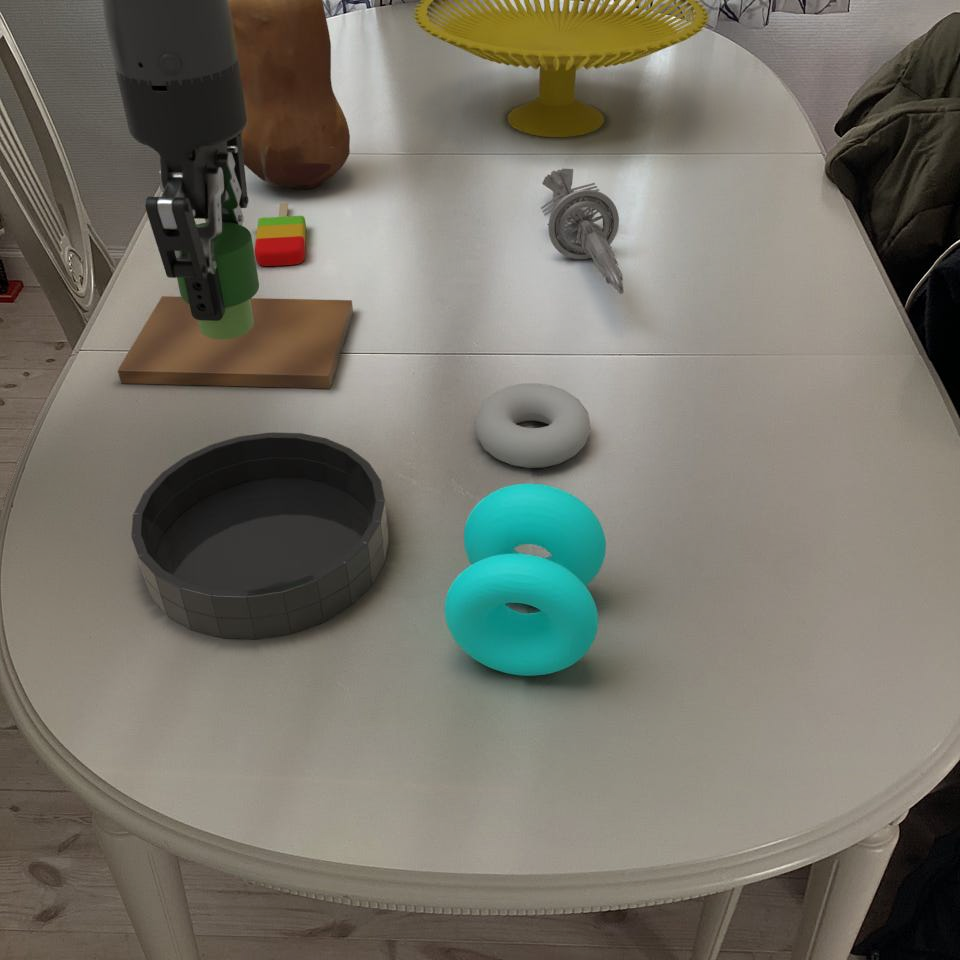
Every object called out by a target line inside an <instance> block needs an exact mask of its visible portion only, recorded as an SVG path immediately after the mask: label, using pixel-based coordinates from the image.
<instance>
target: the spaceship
mask: <svg viewBox="0 0 960 960" xmlns="http://www.w3.org/2000/svg"><path fill="white" fill-rule="evenodd" d="M573 177H574V168H561V169H557V170H552V171H551V172H550V174H549V173H548V174H547V175H546V176H544V179H543V181H542V183H541V184H542V185H543V186H545V188H547V189H548V190H550V191H552V199H551V200H550V201H548V202H547V203H545V204H544V205H542V206H541V207H540V209H541V210H542V213H544V216H545V217H546V216H548V215H549V214H550V216H549V219H548V223H547V226H548V227H547V228H548V229H547V230H548V237H549V239H550V242H551V244H552V246H553V247H554V248H555V249H556V251H558V253H560V254H561V255H563V256H564V257H566V258H569V259H574V260H587V259H590V258H591V259H592V260H593V263H594V265H595V267H596V269H597V270H598V271H599V273H600V274H601V275H602V277H603V278H604V279H605V281H606V283H607V284H608V285H610V286H612V287H613V289H614V290H615V291H616V292H617V293H618V294H619V295H622V294H624V284H623V280H624V279H623V274H622V271H621V269H620V267H619V266H618V265H619V263H618V261H617V259H616V256H615V254H614V251H613V247H612V246H611V244H613V242H614V240H615V238H616V236H617V233H618V231H619V227H620V215H619V211H618V209H617V206H616V205H615V203H614V202H613V200H612V199H611V198H610V197H609V196H608V195H606V194H605V193H603V192H601V191H600V189H599V188H598V186H597V185H596V182H593V183H588V184H585V185H580V186H577V187H573ZM572 187H573V188H572ZM583 208H584V209H583ZM598 213H599V214H600V215H599V216H596V217H595V215H597V214H598ZM600 220H602V227H601V226H600V225H599V224H597V223H596V222H597V221H600ZM566 229H568V230H566ZM574 232H577V234H576V238H575V240H574V241H571V239H570V238H569V237H568V235H570V234H571V233H574Z"/></svg>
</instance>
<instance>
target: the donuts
mask: <svg viewBox="0 0 960 960" xmlns="http://www.w3.org/2000/svg"><path fill="white" fill-rule="evenodd" d="M523 545H524V546H525V545H532V546H537V547H540V548H541V549H544V550H545V551H546V552H548V553H549V554H550V556H546V557H541V556H538V555H534V554H533V555H532V554H528V553H527V554H526V553H522V552H518V551H517V550H516V549H515V548H517V547H519V546H523ZM463 546H464V550H465V554H466V557H467V559H468V561H469V563H470V565H469V566H467V567H466V568H465V569H464V570H463V571H461V572H460V573H459V574H458V575H457V577H455V579H454V580H453V581H452V583H451V585H450V587H449V589H448V591H447V594H446V596H445V602H444V617H445V622H446V623H445V624H446V626H447V628H448V631H449V633H450V635H451V636H452V639H453V640H454V641H455V643H456V644H457V645H458V647H460V649H462V651H463V652H465V653H466V654H467V655H468V656H469V657H470V658H472V659H473V660H475V661H477V662H478V663H480V664H482V665H483V666H486V667H488V668H490V669H492V670H495V671H498V672H501V673H505V674H510V675H513V676H526V677H537V676H544V675H550V674H553V673H556V672H560V671H563V670H565V669H567V668H569V667H571V666H573V665H574V664H576V663H577V662H578V661H579V660H581V659H582V658H583V657H584V656H585V655H586V654H587V653H588V652H589V650H590V649H591V647H592V645H593V644H594V641H595V640H596V636H597V633H598V628H599V614H598V608H597V605H596V602H595V600H594V598H593V596H592V594H591V592H590V590H589V588H588V587H587V586H588V585H589V584H590V583H591V582H592V581H593V580H594V579H595V578H596V576H597V575H598V574H599V572H600V570H601V568H602V566H603V564H604V561H605V557H606V551H607V550H606V549H607V541H606V537H605V532H604V529H603V527H602V523H601V522H600V519H598V517H597V516H596V514H595V513H594V511H593V510H591V508H590V507H589V506H588V505H587V504H586V503H585V502H583V501H582V500H581V499H580V498H578V497H577V496H575V495H574V494H572V493H570V492H568V491H566V490H563V489H561V488H559V487H555V486H551V485H548V484H542V483H541V484H540V483H516V484H511V485H506V486H504V487H501V488H499V489H496V490H494V491H492V492H490V493H488V494H487V495H485V497H483V498H482V499H480V500H479V501H478V502H477V504H476V505H475V506H474V507H473V508H472V510H471V511H470V513H469V515H468V517H467V519H466V522H465V525H464V529H463ZM509 603H510V604H511V603H515V604H524V605H528V606H530V607H534V608H536V609H537V610H538V611H535V612H529V613H527V612H526V613H525V612H520V611H516V610H514V609H512V608H510V607H509V606H508V605H506V604H509Z"/></svg>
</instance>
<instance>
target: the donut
mask: <svg viewBox="0 0 960 960" xmlns="http://www.w3.org/2000/svg"><path fill="white" fill-rule="evenodd" d="M524 422H539V423H544V424H546V425H545V426H542V427H525V426H521V425H518V424H520V423H524ZM474 426H475V427H474V428H475V436H476V438H477V439H478V441H479V443H480V444H481V446H482V448H483V449H484V450H485V451H486V452H487V453H489V454H490V455H491V456H492V457H494V458H495V459H497V460H498V461H501V462H503V463H506V464H508V465H511V466H514V467H519V468H526V469H536V468H537V469H538V468H540V469H541V468H547V467H552V466H555V465H559V464H560V465H561V464H562V463H564V462H566V461H568V460H570V459H571V458H573V457H575V456H576V455H577V454H578V453H579V452H580V451H581V450H582V449H583V448H584V447H585V445H586V444H587V441H588V438H589V435H590V432H591V429H592V428H591V427H592V426H591V420H590V417H589V412H588V410H587V408H586V407H585V405H583V403H582V402H581V400H580V399H579V398H577V397H576V396H574V395H573V394H571V393H570V392H568V391H567V390H565V389H563V388H560V387H557V386H554V385H550V384H545V383H537V382H535V383H534V382H533V383H532V382H531V383H529V382H528V383H518V384H514V385H509V386H506V387H504V388H501V389H499V390H497V391H495V392H493V393H492V394H490V396H488V397H487V398H486V399H485V400H484V401H483V402H482V403H481V405H480V407H479V409H478V410H477V413H476V414H475V419H474Z"/></svg>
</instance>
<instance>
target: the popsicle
mask: <svg viewBox="0 0 960 960" xmlns="http://www.w3.org/2000/svg"><path fill="white" fill-rule="evenodd" d="M278 207H279V208H278V216H271V217H270V216H269V217H259V218H258V219H257V226H256V235H255V244H254V255H255V262H256V264H257V265H258V266H261V267H277V266H279V267H280V266H294V265H299V264H302V263H303V261H304V260H305V257H306V237H307V236H306V235H307V233H306V232H307V223H306V218H305V216H304V215H289V216H288V210H289V203H288V201H281V202H279V206H278Z"/></svg>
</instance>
